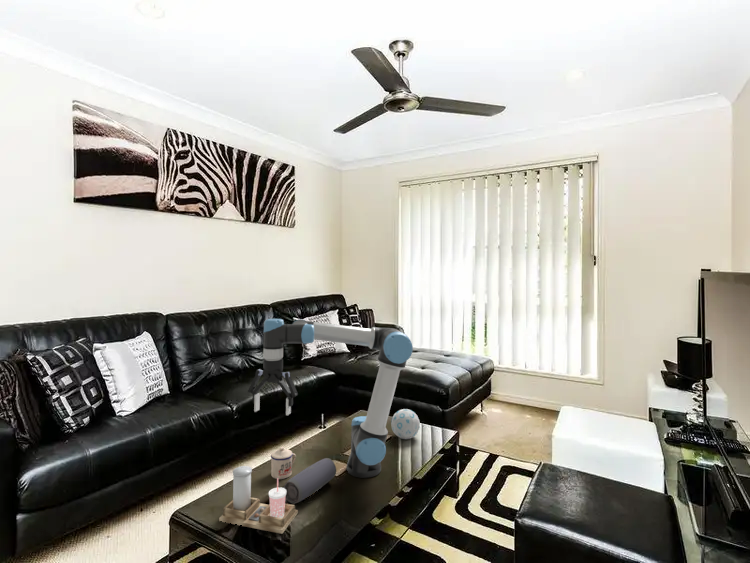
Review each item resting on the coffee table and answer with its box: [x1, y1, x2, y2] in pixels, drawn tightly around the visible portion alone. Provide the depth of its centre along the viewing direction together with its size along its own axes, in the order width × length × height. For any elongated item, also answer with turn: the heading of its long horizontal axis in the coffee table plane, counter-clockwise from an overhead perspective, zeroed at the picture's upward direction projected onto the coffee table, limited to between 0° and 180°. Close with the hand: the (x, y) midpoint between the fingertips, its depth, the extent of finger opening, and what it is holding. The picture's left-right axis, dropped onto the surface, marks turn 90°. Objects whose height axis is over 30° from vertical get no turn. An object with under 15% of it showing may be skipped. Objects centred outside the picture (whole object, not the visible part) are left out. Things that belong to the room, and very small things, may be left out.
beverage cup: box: [268, 478, 287, 518], centre depth 143 cm, size 6×6×14 cm
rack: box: [218, 497, 299, 535], centre depth 145 cm, size 24×12×4 cm, turn 76°
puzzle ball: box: [390, 408, 421, 440], centre depth 217 cm, size 15×15×15 cm
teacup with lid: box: [270, 446, 297, 480], centre depth 177 cm, size 12×9×12 cm
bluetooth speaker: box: [283, 457, 337, 505], centre depth 162 cm, size 23×9×10 cm, turn 149°
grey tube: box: [232, 465, 253, 511], centre depth 147 cm, size 7×7×15 cm
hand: (272, 412), depth 161 cm, fingers open, 13 cm apart
